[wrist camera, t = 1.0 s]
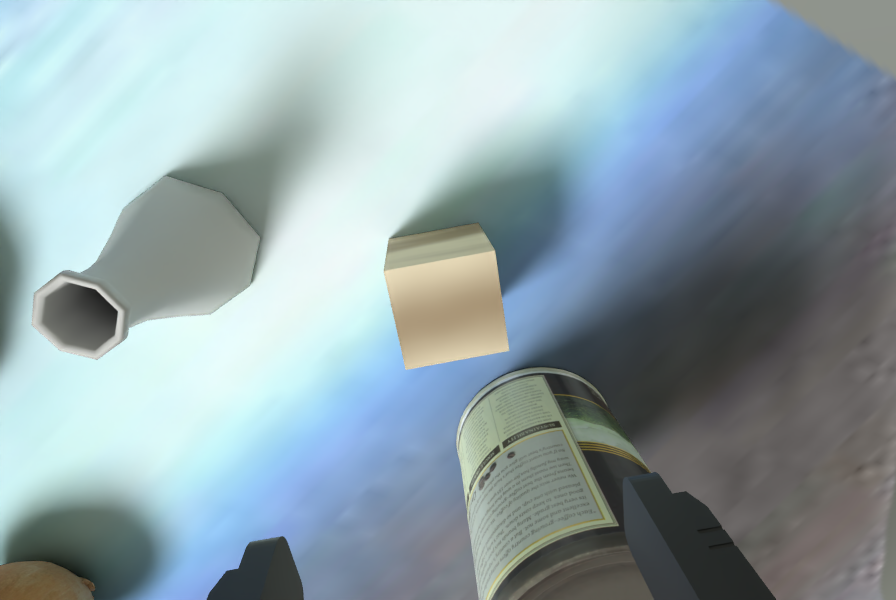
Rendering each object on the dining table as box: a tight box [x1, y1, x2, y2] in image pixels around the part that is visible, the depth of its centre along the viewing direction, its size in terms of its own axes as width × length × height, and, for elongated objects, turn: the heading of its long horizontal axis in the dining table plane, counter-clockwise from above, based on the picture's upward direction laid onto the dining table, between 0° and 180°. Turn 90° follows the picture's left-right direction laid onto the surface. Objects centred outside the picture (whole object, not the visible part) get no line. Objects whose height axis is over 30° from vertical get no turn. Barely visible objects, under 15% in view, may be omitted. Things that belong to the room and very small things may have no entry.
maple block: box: [384, 223, 509, 370], centre depth 26 cm, size 5×5×6 cm
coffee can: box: [456, 367, 654, 600], centre depth 27 cm, size 10×10×14 cm
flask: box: [32, 176, 260, 360], centre depth 23 cm, size 7×7×10 cm
